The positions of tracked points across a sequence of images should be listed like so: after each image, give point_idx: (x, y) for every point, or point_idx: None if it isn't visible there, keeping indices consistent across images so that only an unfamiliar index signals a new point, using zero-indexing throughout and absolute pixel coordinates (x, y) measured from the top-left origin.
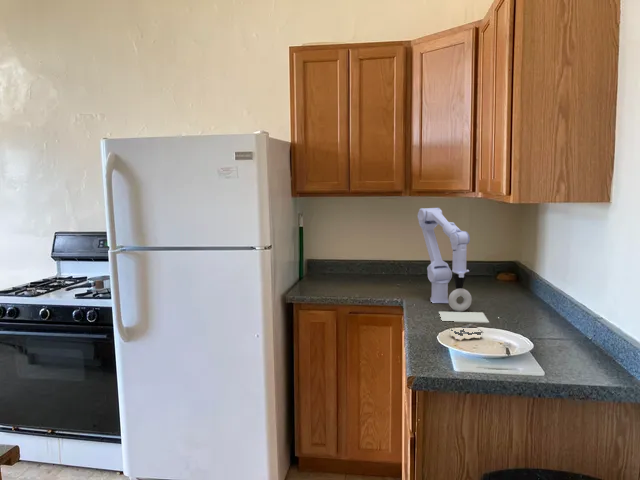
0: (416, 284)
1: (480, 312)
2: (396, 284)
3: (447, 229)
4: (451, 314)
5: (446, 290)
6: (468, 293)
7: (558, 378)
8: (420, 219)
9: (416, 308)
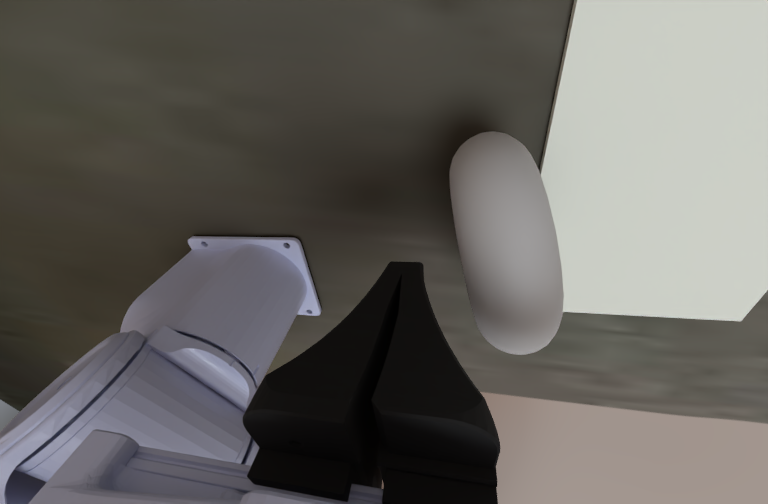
0: (19, 318)
1: (573, 24)
2: None
3: None
4: (597, 258)
5: (243, 300)
6: (542, 209)
7: None
8: None
9: None
